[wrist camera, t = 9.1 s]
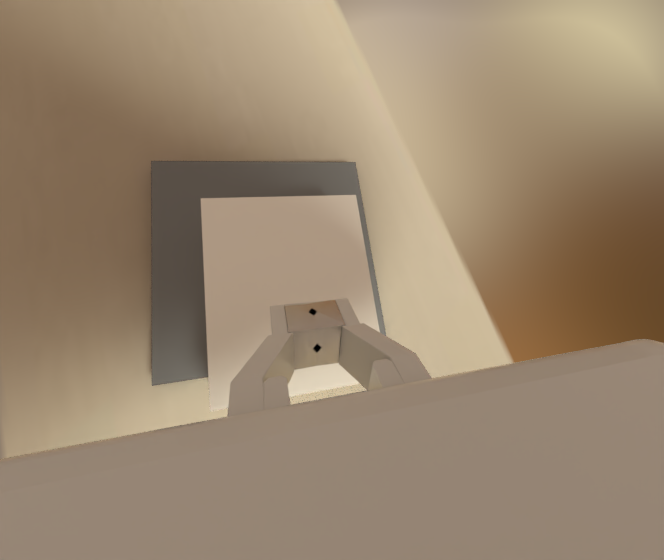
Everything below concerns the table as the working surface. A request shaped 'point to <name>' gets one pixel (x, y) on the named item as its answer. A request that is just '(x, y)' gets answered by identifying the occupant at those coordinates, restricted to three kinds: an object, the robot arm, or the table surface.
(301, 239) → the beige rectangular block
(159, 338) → the charcoal mat
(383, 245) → the table surface
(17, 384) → the table surface
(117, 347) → the table surface
